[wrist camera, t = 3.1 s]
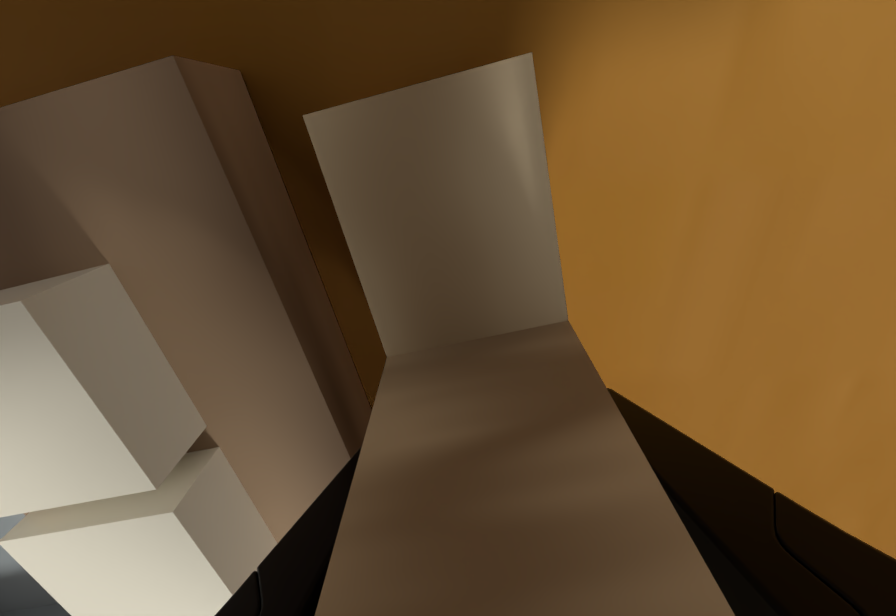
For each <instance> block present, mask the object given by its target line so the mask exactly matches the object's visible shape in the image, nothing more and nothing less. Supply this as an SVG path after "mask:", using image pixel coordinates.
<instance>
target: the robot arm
mask: <svg viewBox="0 0 896 616" xmlns="http://www.w3.org/2000/svg"><path fill="white" fill-rule="evenodd" d="M607 390H608V392H609V393H610V395H611V397H612V399H613V401H614V402H615V404H616V406H617V408H618V409H619V411H620V413H621V415H622V416H623V418H624V420H625V422H626V424H627V425H628V427H629V429H630V431H631V432H632V434H633V436H634V438H635V439H636V441H637V443H638V445H639V447H640V448H641V450H642V452H643V454H644V455H645V457H646V459H647V461H648V462H649V464H650V466H651V468H652V470H653V471H654V473H655V475H656V477H657V478H658V480H659V482H660V484H661V485H662V487H663V489H664V491H665V493H666V494H667V496H668V498H669V500H670V501H671V503H672V505H673V507H674V508H675V510H676V512H677V514H678V516H679V517H680V519H681V521H682V523H683V524H684V526H685V528H686V530H687V531H688V533H689V535H690V537H691V539H692V540H693V542H694V544H695V546H696V547H697V549H698V551H699V553H700V554H701V556H702V558H703V560H704V562H705V563H706V565H707V567H708V569H709V570H710V572H711V574H712V576H713V577H714V579H715V581H716V583H717V585H718V586H719V588H720V590H721V592H722V593H723V595H724V597H725V599H726V600H727V602H728V604H729V606H730V608H731V609H732V611H733V613H734V615H735V616H896V559H894V558H892V557H890V556H889V555H887V554H885V553H883V552H881V551H879V550H878V549H876V548H874V547H872V546H870V545H868V544H867V543H865V542H863V541H861V540H859V539H857V538H856V537H854V536H852V535H850V534H848V533H846V532H845V531H843V530H841V529H840V528H838V527H836V526H835V525H833V524H831V523H829V522H828V521H826V520H824V519H823V518H821V517H819V516H818V515H816V514H814V513H812V512H811V511H809V510H807V509H806V508H804V507H802V506H801V505H799V504H797V503H796V502H794V501H793V500H791V499H789V498H788V497H786V496H784V495H783V494H781V493H779V492H776V493H775V494H774V489H773V488H771V487H769V486H768V485H766V484H765V483H763V482H761V481H760V480H758V479H757V478H755V477H753V476H752V475H750V474H748V473H747V472H745V471H744V470H742V469H740V468H739V467H737V466H735V465H734V464H732V463H731V462H729V461H727V460H726V459H724V458H722V457H721V456H719V455H718V454H716V453H714V452H713V451H711V450H709V449H708V448H706V447H705V446H703V445H701V444H700V443H698V442H696V441H695V440H693V439H692V438H690V437H688V436H687V435H685V434H683V433H682V432H680V431H679V430H677V429H675V428H674V427H672V426H670V425H669V424H667V423H666V422H664V421H662V420H661V419H659V418H657V417H656V416H654V415H653V414H651V413H649V412H648V411H646V410H644V409H643V408H641V407H640V406H638V405H636V404H635V403H633V402H631V401H630V400H628V399H627V398H625V397H623V396H622V395H620V394H618V393H617V392H615V391H614V390H612V389H609V388H607ZM361 448H362V446H361V447H360V448H359V450H358V451H357V452H356V453H355V454H354V455H353V456H352V458H351V459H350V460H349V461H348V462H347V463H346V465H345V466H344V467H343V468H342V469H341V470H340V472H339V473H338V474H337V475H336V476H335V477H334V479H333V480H332V481H331V482H330V483H329V484H328V485H327V487H326V488H325V489H324V490H323V491H322V492H321V494H320V495H319V496H318V497H317V498H316V499H315V501H314V502H313V503H312V504H311V505H310V506H309V508H308V509H307V510H306V511H305V512H304V513H303V514H302V516H301V517H300V518H299V519H298V520H297V521H296V523H295V524H294V525H293V526H292V527H291V528H290V530H289V531H288V532H287V533H286V534H285V535H284V537H283V538H282V539H281V540H280V541H279V542H278V544H277V545H276V546H275V547H274V548H273V549H272V550H271V552H270V553H269V554H268V555H267V556H266V557H265V559H264V560H263V561H262V562H261V563H260V564H259V566H258V567H257V571H253V572H252V573H251V575H250V576H249V577H248V578H247V579H246V580H245V582H244V583H243V584H242V585H241V586H240V587H239V589H238V590H237V591H236V592H235V593H234V594H233V595H232V596H231V598H230V599H229V600H228V601H227V602H226V603H225V604H224V605H223V607H222V608H221V609H220V610H219V611H218V612H217V613H216V614H215V615H214V616H315V612H316V609H317V605H318V602H319V598H320V595H321V591H322V587H323V584H324V580H325V577H326V573H327V570H328V566H329V562H330V559H331V555H332V552H333V548H334V545H335V541H336V537H337V534H338V530H339V527H340V523H341V520H342V516H343V512H344V509H345V505H346V502H347V498H348V495H349V491H350V487H351V484H352V480H353V477H354V473H355V470H356V466H357V462H358V459H359V455H360V452H361Z"/></svg>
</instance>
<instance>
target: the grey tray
mask: <svg viewBox="0 0 896 616" xmlns="http://www.w3.org/2000/svg"><path fill="white" fill-rule="evenodd" d="M24 517H25V515H24V514H23V513H22V514H17V515H11V516H5V517H0V539H1V538H3V537H4V536H5V535H6V534H7V533H8V532H9V531H10V530H11V529H12V528H13V527H14V526H15V525H17V524H18V523H19V522H20V521H21V520H22V519H23V518H24ZM0 616H71V615H70V614H69V613H68V612H67V611H66V610H65V609H64V608H63V607H62V606H61V605H60V604H59V603H58V602H57V601H56V600H55V599H54V598H53V597H52V596H51V595H50V594H49V593H48V592H47V591H46V590H45V589H44V588H43V587H42V586H41V585H40V584H39V583H38V582H37V581H36V580H35V579H34V578H33V577H32V576H31V575H30V574H29V573H28V572H27V571H26V570H25V569H24V568H23V567H22V566H21V565H20V564H19V563H18V562H17V561H16V560H15V559H14V558H13V557H12V556H11V555H10V554H9V553H8V552H7V551H6V550H5V549H4V548H3V547H2V546H1V545H0Z"/></svg>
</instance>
